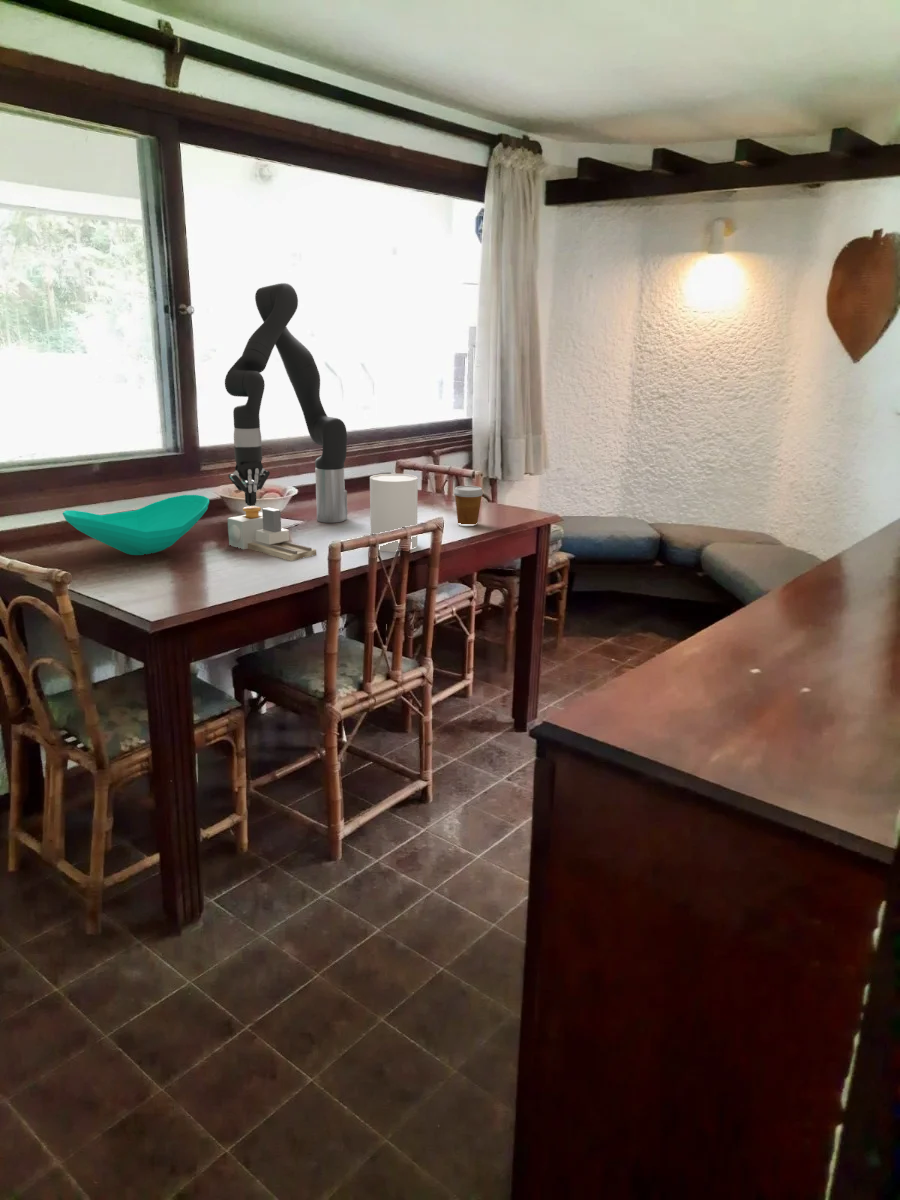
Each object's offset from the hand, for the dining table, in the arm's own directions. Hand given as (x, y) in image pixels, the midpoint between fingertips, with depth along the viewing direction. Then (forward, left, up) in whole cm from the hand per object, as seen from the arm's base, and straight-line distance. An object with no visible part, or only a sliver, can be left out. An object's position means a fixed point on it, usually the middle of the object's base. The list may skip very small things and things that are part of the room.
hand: (250, 505), depth 238 cm
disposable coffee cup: (-64, +28, -12) cm, 71 cm away
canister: (-27, +31, -12) cm, 43 cm away
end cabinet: (0, 0, -11) cm, 11 cm away
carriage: (0, +9, -9) cm, 13 cm away
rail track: (0, +13, -11) cm, 17 cm away
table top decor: (+27, -13, -12) cm, 32 cm away
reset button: (0, 0, -3) cm, 3 cm away
